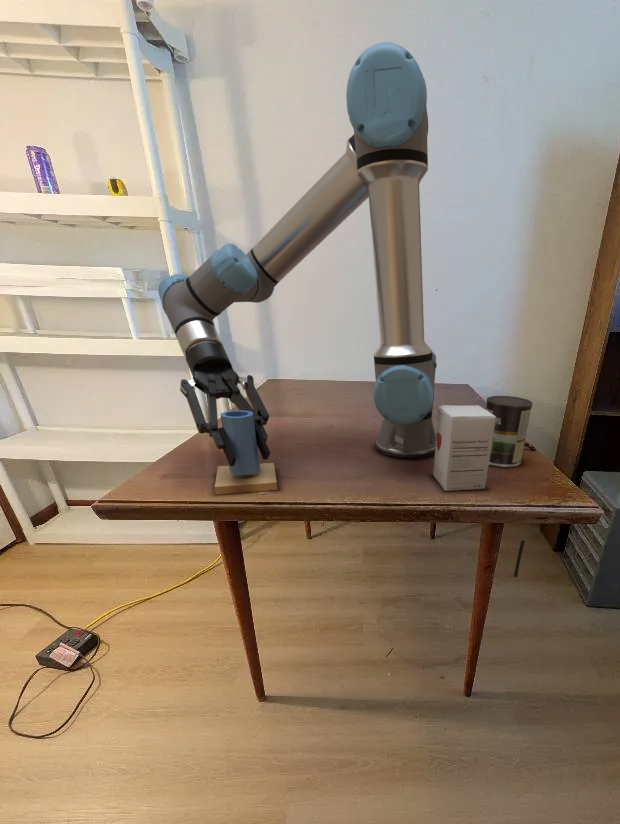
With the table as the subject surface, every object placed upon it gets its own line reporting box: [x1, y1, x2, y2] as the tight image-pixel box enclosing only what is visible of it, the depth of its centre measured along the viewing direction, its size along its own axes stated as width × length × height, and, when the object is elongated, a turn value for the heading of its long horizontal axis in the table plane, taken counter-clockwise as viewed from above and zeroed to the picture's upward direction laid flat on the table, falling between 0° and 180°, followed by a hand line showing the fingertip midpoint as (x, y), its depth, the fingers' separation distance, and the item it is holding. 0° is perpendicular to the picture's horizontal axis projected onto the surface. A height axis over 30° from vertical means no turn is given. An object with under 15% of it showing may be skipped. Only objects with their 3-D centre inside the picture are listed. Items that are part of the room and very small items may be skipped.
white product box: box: [432, 404, 496, 492], centre depth 86 cm, size 9×9×15 cm
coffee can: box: [485, 395, 534, 468], centre depth 100 cm, size 10×10×14 cm
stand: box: [214, 462, 278, 496], centre depth 82 cm, size 11×11×11 cm
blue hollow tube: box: [220, 409, 261, 475], centre depth 81 cm, size 6×6×11 cm
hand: (250, 459), depth 80 cm, fingers closed on blue hollow tube, 6 cm apart
